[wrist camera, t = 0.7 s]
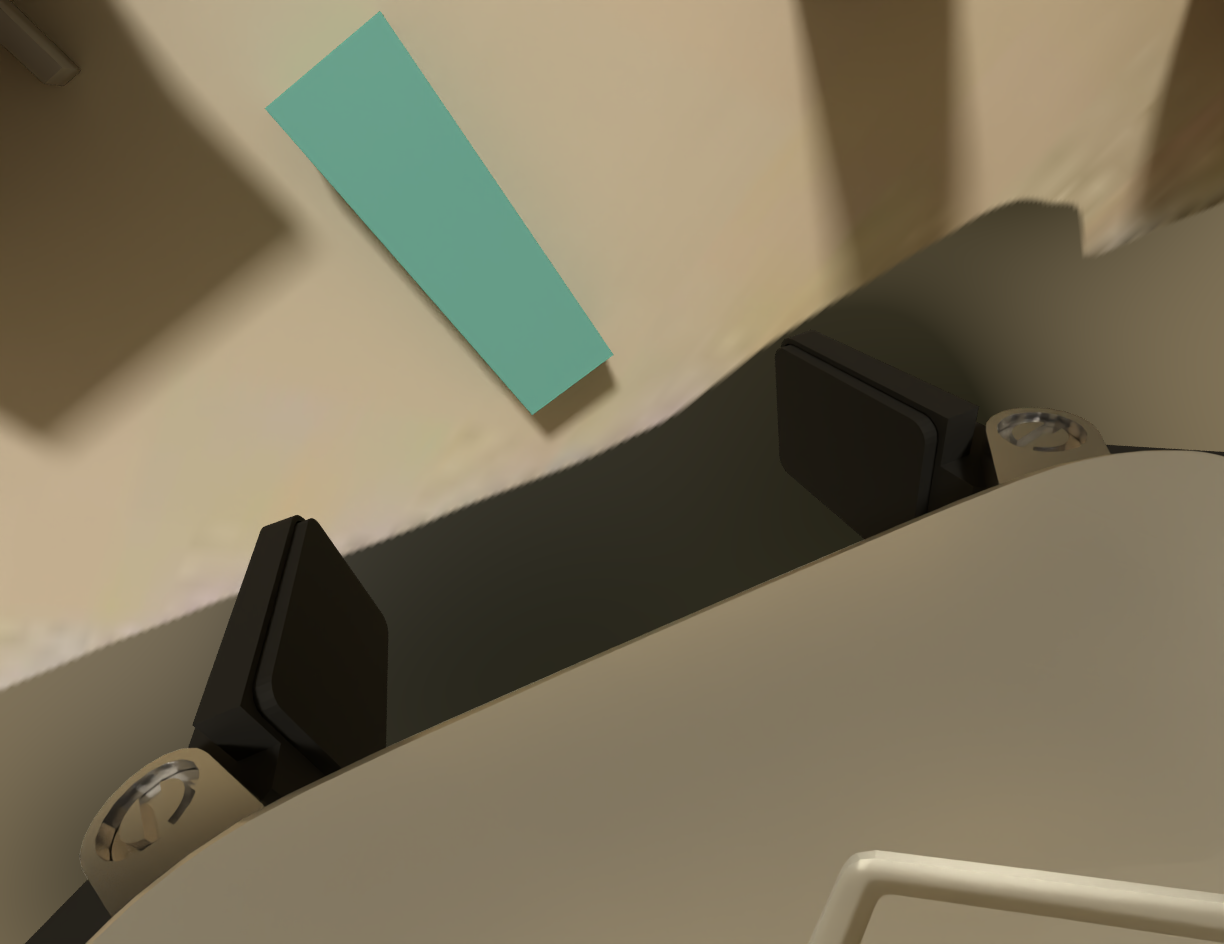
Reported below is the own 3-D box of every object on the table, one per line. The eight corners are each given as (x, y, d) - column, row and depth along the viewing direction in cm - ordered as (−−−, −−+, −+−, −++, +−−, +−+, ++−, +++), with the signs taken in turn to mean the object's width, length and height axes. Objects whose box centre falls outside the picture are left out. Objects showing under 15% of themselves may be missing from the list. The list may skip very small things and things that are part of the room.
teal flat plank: (384, 24, 25) (380, 11, 21) (595, 333, 35) (613, 354, 32) (284, 109, 25) (264, 108, 22) (521, 388, 36) (532, 415, 33)
